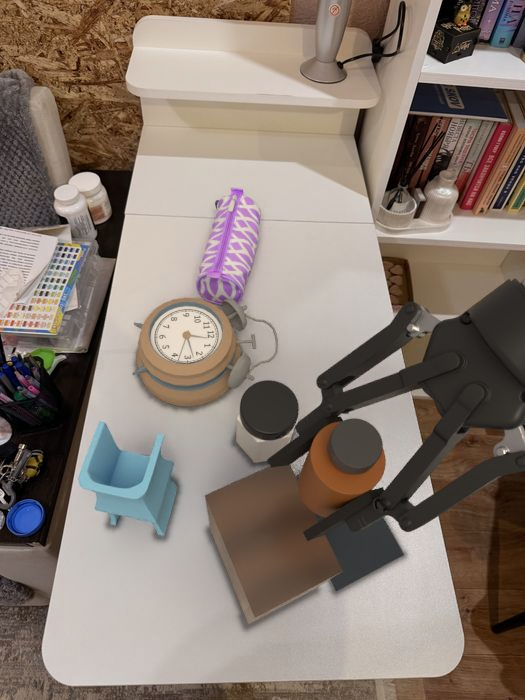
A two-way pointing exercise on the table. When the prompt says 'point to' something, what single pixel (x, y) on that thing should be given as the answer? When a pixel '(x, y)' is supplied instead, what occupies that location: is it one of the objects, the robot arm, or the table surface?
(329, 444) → the spice bottle
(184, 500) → the table surface
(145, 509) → the blue doll chair
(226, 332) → the alarm clock
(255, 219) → the pencil case
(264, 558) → the block
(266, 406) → the jar
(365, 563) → the mat
